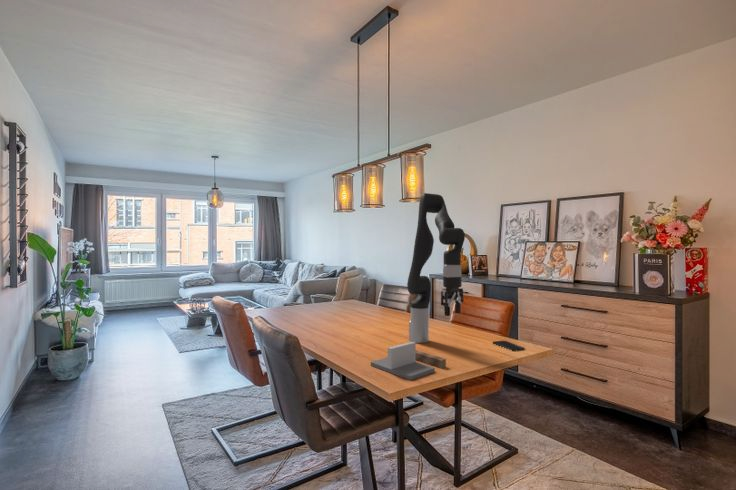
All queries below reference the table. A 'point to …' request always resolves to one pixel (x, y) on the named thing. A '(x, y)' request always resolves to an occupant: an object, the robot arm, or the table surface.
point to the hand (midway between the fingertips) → (452, 314)
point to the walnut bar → (430, 359)
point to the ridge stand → (403, 362)
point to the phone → (508, 345)
